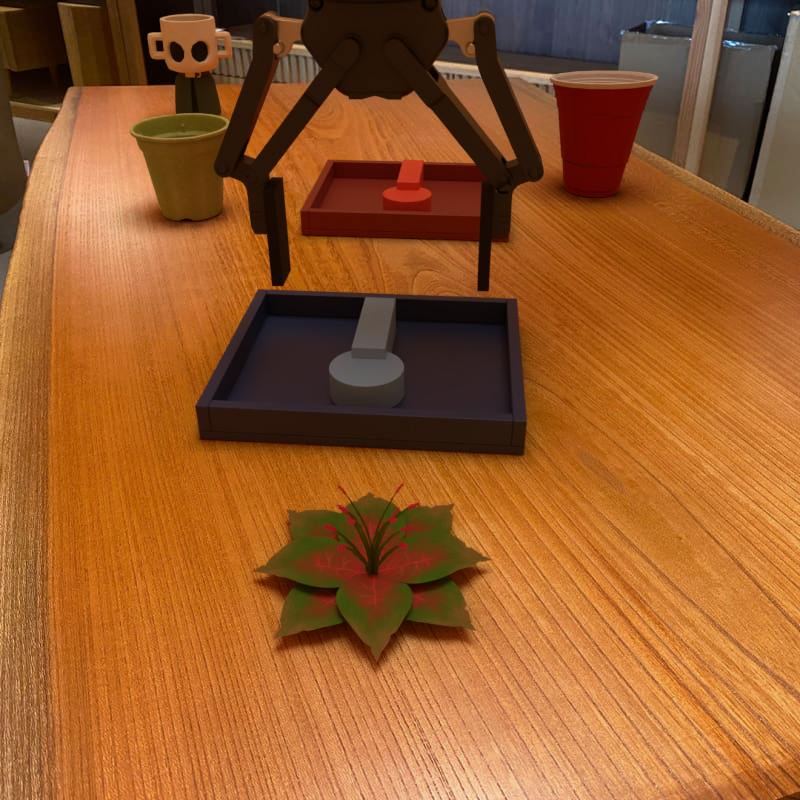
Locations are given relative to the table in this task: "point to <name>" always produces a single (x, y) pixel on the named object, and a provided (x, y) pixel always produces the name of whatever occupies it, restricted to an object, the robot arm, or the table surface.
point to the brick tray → (364, 217)
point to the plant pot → (183, 162)
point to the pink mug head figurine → (192, 59)
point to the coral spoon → (408, 190)
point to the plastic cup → (598, 126)
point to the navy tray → (414, 344)
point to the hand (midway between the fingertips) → (381, 281)
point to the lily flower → (372, 569)
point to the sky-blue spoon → (370, 361)
